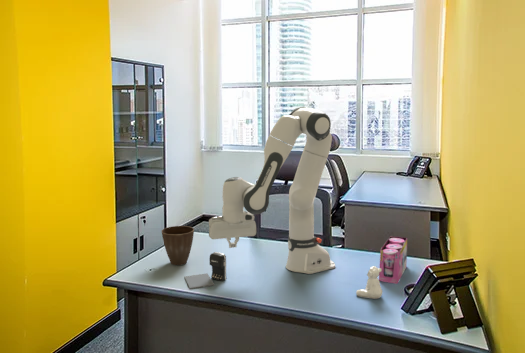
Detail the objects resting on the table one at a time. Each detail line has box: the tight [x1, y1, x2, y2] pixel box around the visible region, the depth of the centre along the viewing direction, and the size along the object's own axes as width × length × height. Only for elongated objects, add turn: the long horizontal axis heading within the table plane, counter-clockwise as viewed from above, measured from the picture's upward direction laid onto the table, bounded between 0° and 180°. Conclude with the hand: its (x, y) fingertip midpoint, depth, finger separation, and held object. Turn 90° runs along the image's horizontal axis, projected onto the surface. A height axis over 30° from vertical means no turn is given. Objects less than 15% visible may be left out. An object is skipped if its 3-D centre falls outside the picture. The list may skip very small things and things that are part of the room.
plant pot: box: [161, 225, 195, 266], centre depth 205 cm, size 15×15×16 cm
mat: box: [184, 272, 215, 290], centre depth 183 cm, size 10×13×1 cm
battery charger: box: [209, 251, 227, 282], centre depth 184 cm, size 7×4×11 cm, turn 55°
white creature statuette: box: [355, 265, 383, 300], centre depth 166 cm, size 10×9×12 cm
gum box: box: [378, 235, 408, 285], centre depth 187 cm, size 24×8×14 cm, turn 153°
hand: (232, 247), depth 185 cm, fingers closed
